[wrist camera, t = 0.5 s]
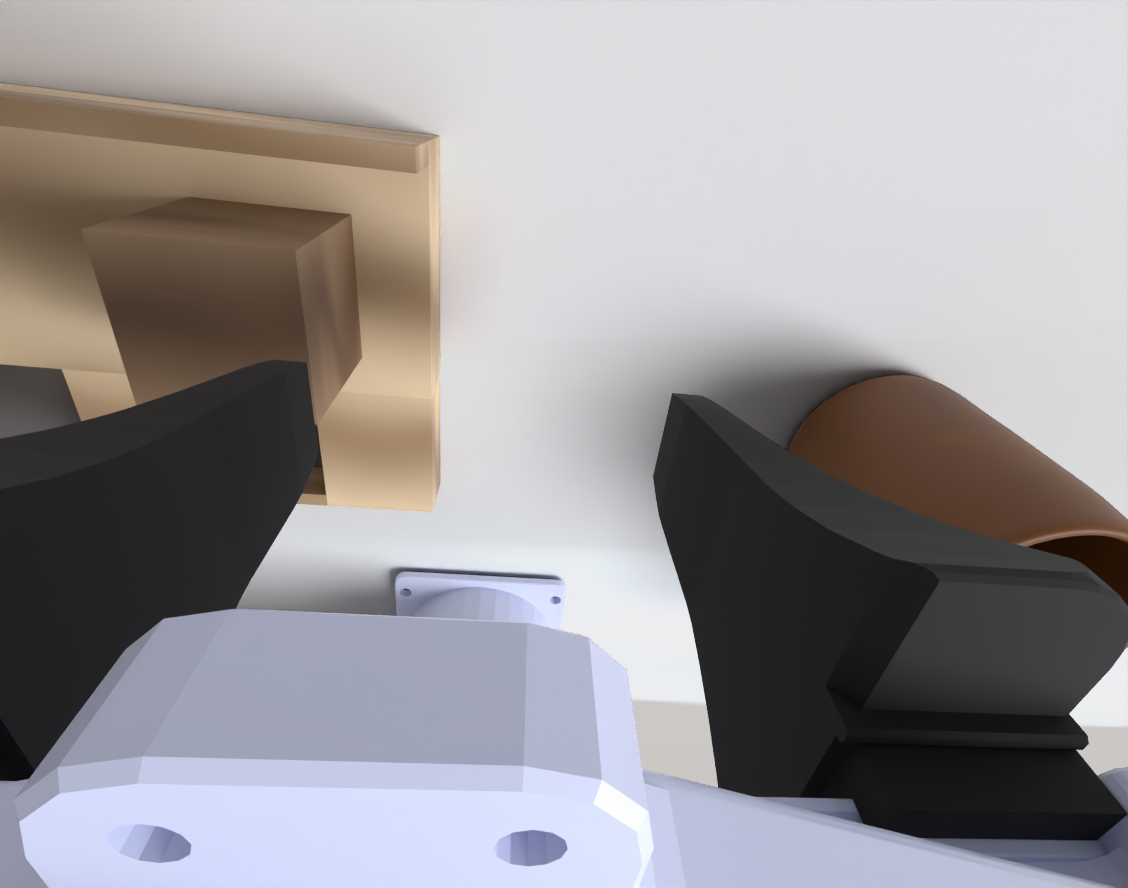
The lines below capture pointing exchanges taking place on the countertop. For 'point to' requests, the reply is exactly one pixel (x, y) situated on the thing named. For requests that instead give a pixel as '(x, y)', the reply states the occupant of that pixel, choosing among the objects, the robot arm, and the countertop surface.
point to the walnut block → (228, 293)
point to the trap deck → (240, 174)
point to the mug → (961, 471)
